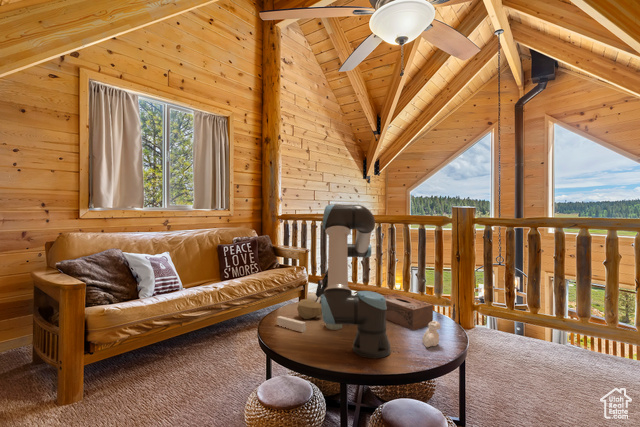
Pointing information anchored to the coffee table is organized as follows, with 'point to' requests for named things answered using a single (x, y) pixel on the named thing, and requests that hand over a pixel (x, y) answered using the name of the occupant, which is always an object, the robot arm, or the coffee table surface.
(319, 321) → the coffee table surface
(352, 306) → the robot arm
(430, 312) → the tissue box cover
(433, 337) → the bust
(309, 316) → the low-poly potato
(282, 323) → the rail
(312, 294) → the cream capsule
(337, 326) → the pale green egg
